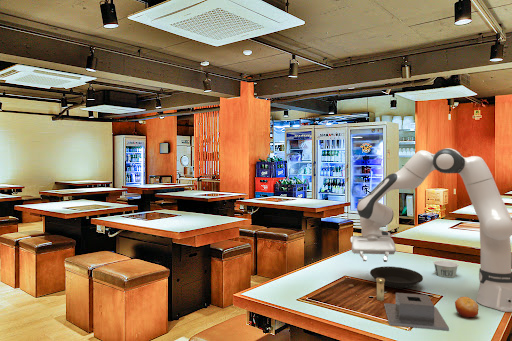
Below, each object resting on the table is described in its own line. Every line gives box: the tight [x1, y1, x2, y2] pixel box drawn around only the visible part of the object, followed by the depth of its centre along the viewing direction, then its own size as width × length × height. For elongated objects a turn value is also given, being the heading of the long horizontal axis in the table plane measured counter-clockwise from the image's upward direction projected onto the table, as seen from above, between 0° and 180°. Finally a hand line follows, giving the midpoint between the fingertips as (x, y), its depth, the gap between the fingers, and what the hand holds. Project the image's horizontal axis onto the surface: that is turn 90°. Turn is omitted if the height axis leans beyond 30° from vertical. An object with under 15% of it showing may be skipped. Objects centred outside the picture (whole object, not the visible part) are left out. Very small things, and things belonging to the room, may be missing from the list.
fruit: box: [454, 296, 479, 318], centre depth 147 cm, size 8×8×8 cm
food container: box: [432, 260, 459, 279], centre depth 201 cm, size 12×12×6 cm
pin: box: [375, 278, 385, 302], centre depth 165 cm, size 4×4×9 cm
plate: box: [369, 266, 424, 290], centre depth 184 cm, size 28×24×6 cm
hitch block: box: [383, 292, 450, 332], centre depth 145 cm, size 20×20×7 cm
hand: (375, 261), depth 176 cm, fingers open, 8 cm apart
